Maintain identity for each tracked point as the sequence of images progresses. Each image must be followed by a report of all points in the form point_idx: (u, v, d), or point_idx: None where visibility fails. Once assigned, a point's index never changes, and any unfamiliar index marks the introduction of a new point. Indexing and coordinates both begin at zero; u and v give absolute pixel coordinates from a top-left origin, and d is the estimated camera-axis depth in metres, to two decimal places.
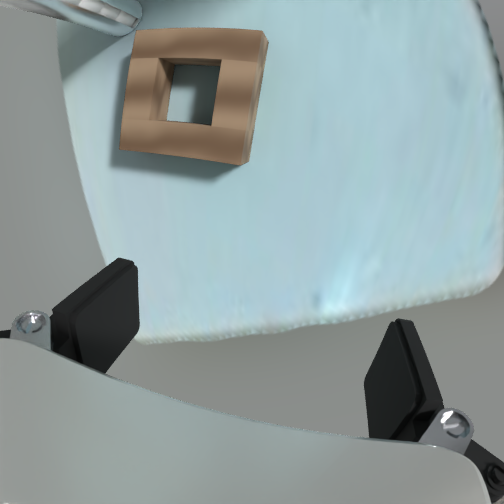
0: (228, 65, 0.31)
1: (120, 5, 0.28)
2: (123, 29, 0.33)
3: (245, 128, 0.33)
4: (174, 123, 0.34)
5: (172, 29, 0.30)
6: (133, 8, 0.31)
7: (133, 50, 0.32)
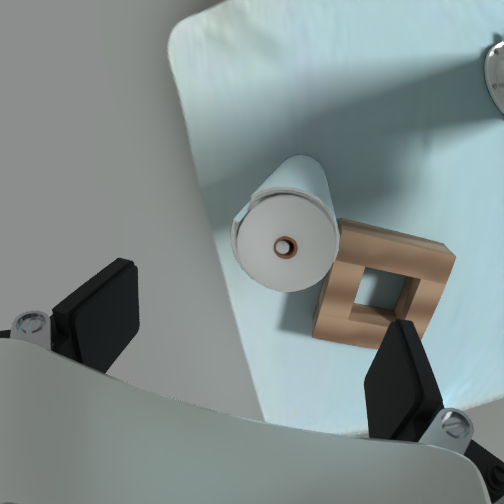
0: (425, 285, 0.37)
1: None
2: None
3: (424, 331, 0.40)
4: (370, 325, 0.41)
5: (382, 240, 0.36)
6: None
7: (338, 251, 0.38)
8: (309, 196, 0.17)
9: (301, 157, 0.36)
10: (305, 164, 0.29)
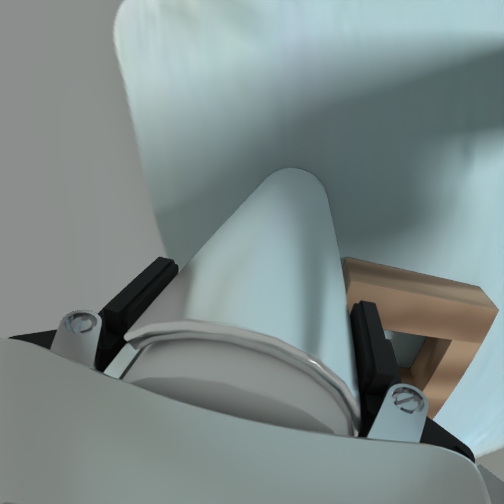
0: (456, 346, 0.25)
1: None
2: None
3: (447, 397, 0.28)
4: None
5: (407, 293, 0.24)
6: None
7: None
8: (286, 355, 0.05)
9: (291, 173, 0.24)
10: (295, 191, 0.17)
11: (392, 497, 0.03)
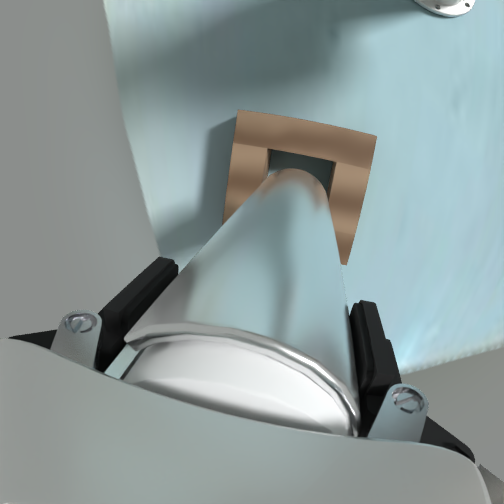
0: (343, 170, 0.34)
1: None
2: None
3: (354, 233, 0.37)
4: None
5: (282, 117, 0.34)
6: None
7: (236, 133, 0.35)
8: (285, 357, 0.05)
9: (291, 174, 0.24)
10: (295, 191, 0.18)
11: (392, 497, 0.03)
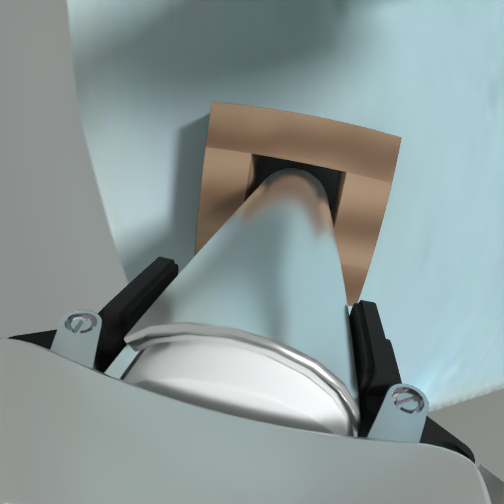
0: (355, 183, 0.25)
1: None
2: None
3: (368, 266, 0.28)
4: None
5: (272, 111, 0.24)
6: None
7: (209, 134, 0.26)
8: (285, 357, 0.05)
9: (291, 174, 0.24)
10: (295, 192, 0.18)
11: (392, 497, 0.03)
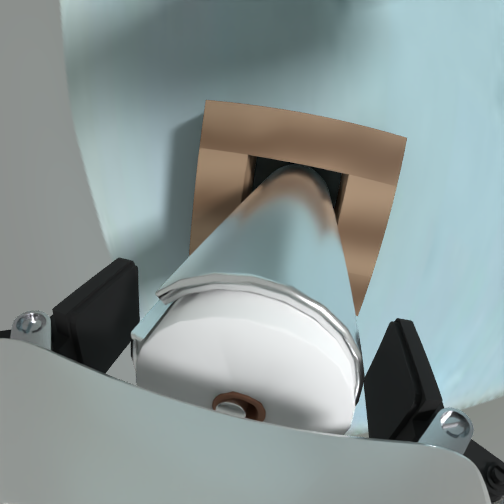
0: (358, 186, 0.24)
1: None
2: None
3: (370, 274, 0.26)
4: None
5: (269, 109, 0.23)
6: None
7: (203, 134, 0.24)
8: (298, 301, 0.07)
9: (295, 169, 0.25)
10: (299, 183, 0.19)
11: (392, 497, 0.03)
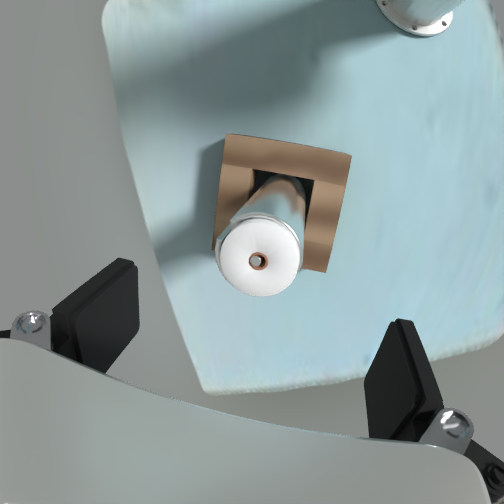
0: (320, 187, 0.39)
1: None
2: None
3: (332, 243, 0.41)
4: None
5: (265, 140, 0.38)
6: (305, 201, 0.42)
7: (224, 155, 0.40)
8: (277, 219, 0.22)
9: (281, 177, 0.41)
10: (283, 185, 0.34)
11: (392, 497, 0.03)
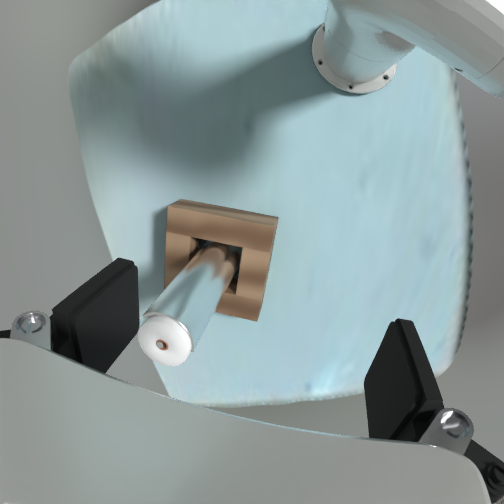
0: (248, 253, 0.47)
1: (234, 273, 0.47)
2: None
3: (260, 299, 0.49)
4: None
5: (200, 213, 0.46)
6: (238, 262, 0.50)
7: (167, 224, 0.47)
8: (172, 318, 0.30)
9: (216, 242, 0.48)
10: (206, 261, 0.42)
11: (392, 497, 0.03)
